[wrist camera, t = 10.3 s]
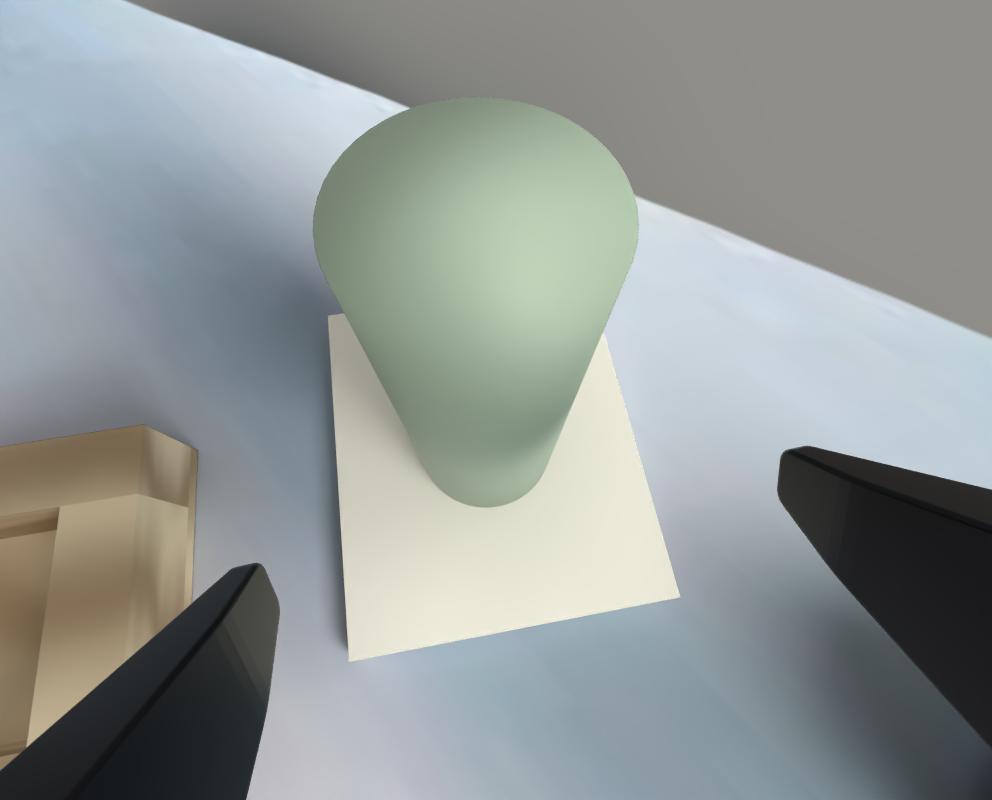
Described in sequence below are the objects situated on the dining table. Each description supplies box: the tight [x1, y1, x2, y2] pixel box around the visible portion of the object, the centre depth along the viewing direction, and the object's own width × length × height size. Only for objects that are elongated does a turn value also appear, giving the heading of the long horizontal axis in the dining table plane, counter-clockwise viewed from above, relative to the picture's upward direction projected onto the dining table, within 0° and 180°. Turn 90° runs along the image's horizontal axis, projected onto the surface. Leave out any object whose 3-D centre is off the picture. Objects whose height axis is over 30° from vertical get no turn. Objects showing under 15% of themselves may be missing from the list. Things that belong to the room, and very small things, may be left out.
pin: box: [313, 97, 639, 508], centre depth 14 cm, size 5×5×13 cm
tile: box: [328, 313, 680, 662], centre depth 21 cm, size 14×12×1 cm
